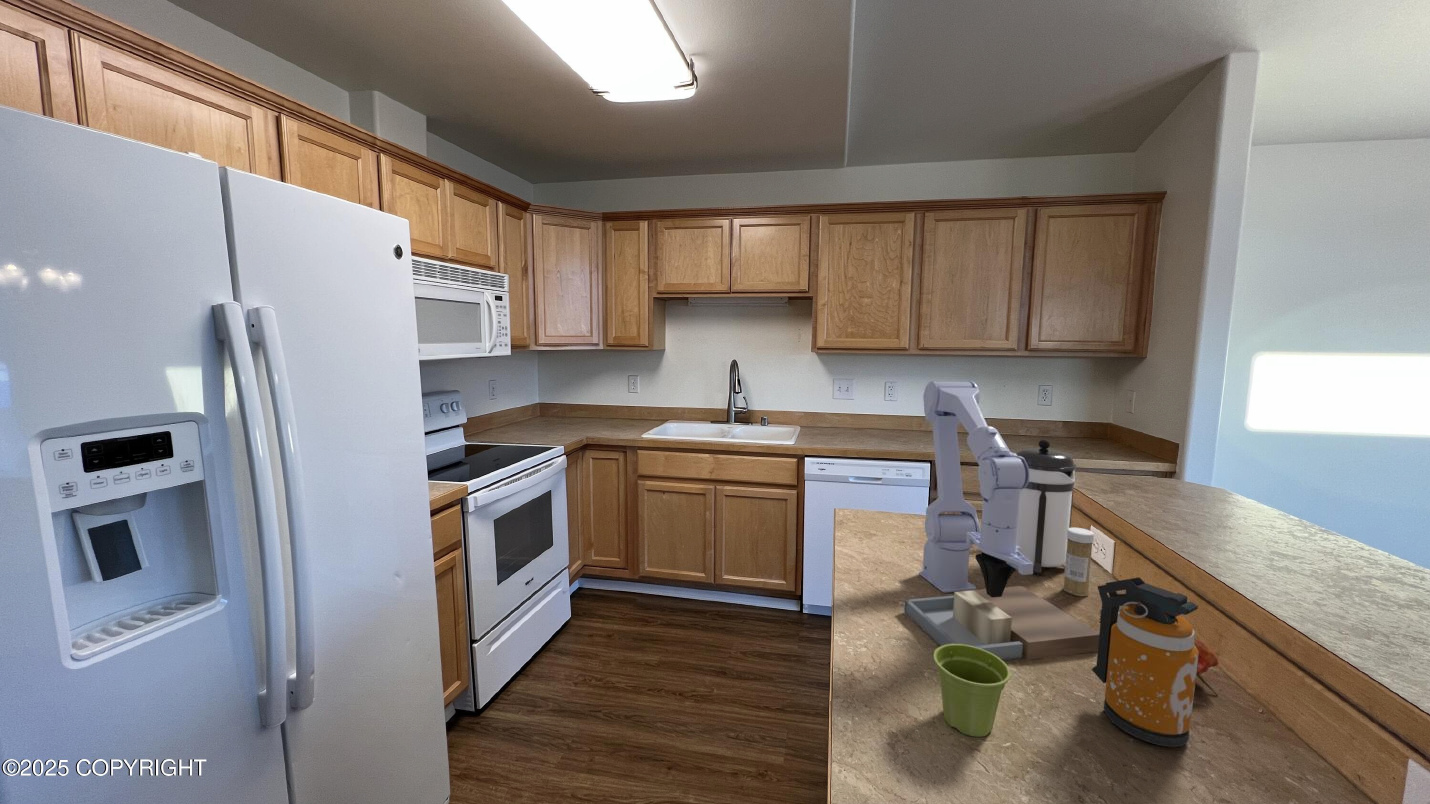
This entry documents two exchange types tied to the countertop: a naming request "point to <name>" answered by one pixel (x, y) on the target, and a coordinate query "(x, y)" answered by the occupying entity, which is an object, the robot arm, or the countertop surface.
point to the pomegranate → (1204, 659)
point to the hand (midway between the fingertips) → (994, 595)
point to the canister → (1147, 661)
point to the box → (953, 626)
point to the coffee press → (1045, 506)
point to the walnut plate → (1042, 625)
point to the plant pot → (970, 686)
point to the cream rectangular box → (982, 618)
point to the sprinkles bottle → (1078, 561)
